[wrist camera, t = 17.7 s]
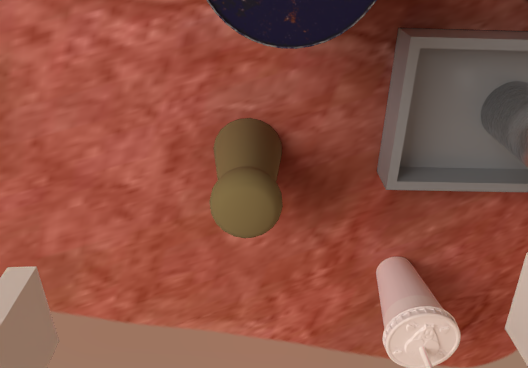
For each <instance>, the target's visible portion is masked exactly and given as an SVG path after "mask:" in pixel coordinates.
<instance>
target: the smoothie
mask: <svg viewBox="0 0 528 368" xmlns="http://www.w3.org/2000/svg"><path fill="white" fill-rule="evenodd" d="M376 277H377V283H378V290H379V296H380V303H381V309H382V316H383V324H384V329H385V330H384V332H383V339H382V340H383V344H384V347H385V348H386V352H387V354H388V356H389V357H390V358H391V360H392V361H394V362H395V363H397V364H398V365H400V366H403V367H407V368H433V366H435V365H437V364H440V363H442V362H443V361H445V360H446V359H448V358H449V357H450V356H451V355H452V354H453V353H454V352H455V351H456V349H457V348H458V345H459V343H460V337H461V336H460V331H459V328H458V326H457V322H456V321H455V319H454V317H453V316H452V315H451V314H450V313H449V312H447V311H445V310H444V309H443V308H442V306H441V305H440V304H439V302H438V301H437V299H436V298H435V297H434V295H433V294H432V292H431V291H430V290H429V288H428V287H427V285H426V284H425V282H424V281H423V280H422V278H421V277H420V275H419V274H418V273H417V271H416V270H415V268H414V267H413V265H412V264H411V263H410V261H409V260H407V259H406V258H403V257H390V258H387V259H385V260H384V261H382V262H381V263H380V264H379V266H378V267H377V270H376Z"/></svg>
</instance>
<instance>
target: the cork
mask: <svg viewBox="0 0 528 368" xmlns="http://www.w3.org/2000/svg"><path fill="white" fill-rule="evenodd" d="M214 155H215V163H216V170H217V178H218V181H217V182H216V184H215V185H214V187H213V188H212V193H211V197H210V209H211V214H212V216H213V218H214V220H215V222H216V224H217V225H218V226H219V227H220V228H221V229H222V230H224V231H225V232H227V233H229V234H231V235H233V236H236V237H241V238H252V237H256V236H259V235H262V234H264V233H266V232H267V231H268V230H270V229H271V228H273V226H274V225H275V223H276V222H277V221H278V219H279V217H280V214H281V210H282V207H283V206H282V194H281V191H280V189H279V187H278V184H277V183H276V180H277V175H278V170H279V165H280V160H281V155H282V145H281V141H280V139H279V136H278V134H277V133H276V132H275V130H274V129H273V128H272V127H271V126H270V125H268V124H266V123H264V122H263V121H261V120H256V119H252V118H245V119H238V120H235V121H233V122H230V123H228V124H227V125H226V126H225V127H224V128H222V129H221V130H220V132H219V134H218V135H217V137H216V139H215V144H214Z"/></svg>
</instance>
